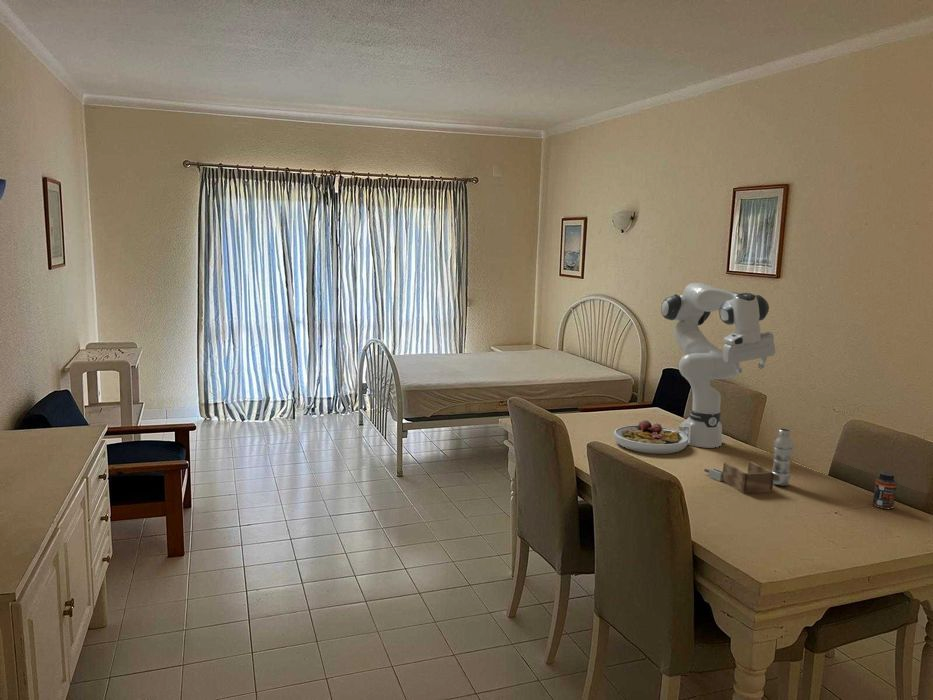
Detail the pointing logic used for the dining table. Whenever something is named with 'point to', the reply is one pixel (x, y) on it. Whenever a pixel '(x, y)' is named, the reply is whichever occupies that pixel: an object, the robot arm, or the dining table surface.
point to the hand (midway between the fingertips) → (750, 370)
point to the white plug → (715, 474)
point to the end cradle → (748, 478)
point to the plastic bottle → (782, 458)
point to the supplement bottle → (884, 490)
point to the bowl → (650, 438)
